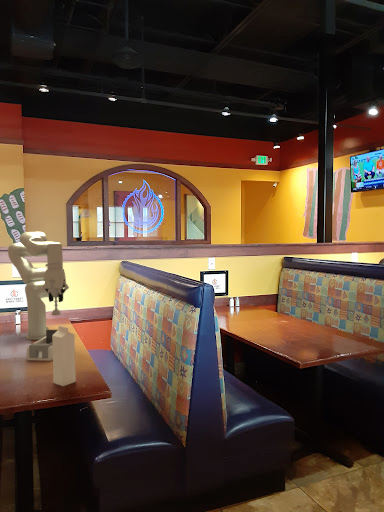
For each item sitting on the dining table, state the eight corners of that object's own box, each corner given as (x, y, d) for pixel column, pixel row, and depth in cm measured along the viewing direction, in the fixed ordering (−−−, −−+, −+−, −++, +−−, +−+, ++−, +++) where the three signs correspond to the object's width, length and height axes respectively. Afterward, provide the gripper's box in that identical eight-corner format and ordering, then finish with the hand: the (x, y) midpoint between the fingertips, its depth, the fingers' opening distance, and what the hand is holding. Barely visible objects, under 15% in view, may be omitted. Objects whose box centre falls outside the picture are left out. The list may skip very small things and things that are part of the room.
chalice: (56, 312, 217) (55, 278, 216) (66, 313, 214) (65, 279, 213) (46, 315, 211) (45, 280, 210) (55, 316, 207) (54, 280, 206)
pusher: (47, 346, 207) (47, 329, 207) (63, 346, 206) (63, 329, 206) (31, 356, 190) (31, 338, 190) (49, 356, 189) (48, 338, 189)
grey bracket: (46, 347, 210) (46, 333, 209) (68, 347, 209) (68, 334, 208) (26, 360, 189) (26, 345, 188) (50, 360, 188) (50, 345, 187)
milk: (66, 378, 164) (65, 324, 163) (75, 382, 161) (74, 326, 159) (53, 383, 159) (51, 327, 158) (62, 386, 156) (61, 329, 155)
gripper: (36, 266, 209) (37, 302, 210) (66, 267, 205) (67, 303, 206) (44, 265, 216) (45, 299, 217) (73, 266, 213) (74, 300, 214)
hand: (56, 301), depth 212 cm, fingers closed on chalice, 4 cm apart
